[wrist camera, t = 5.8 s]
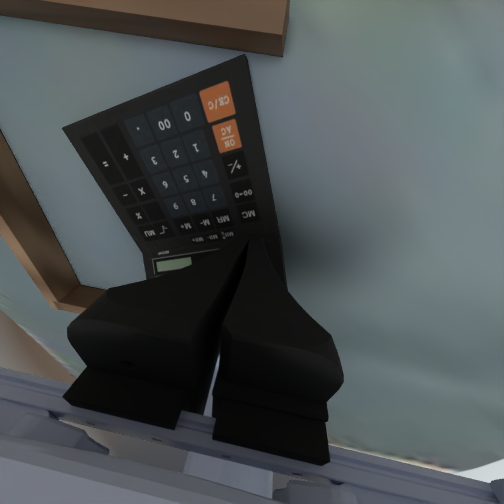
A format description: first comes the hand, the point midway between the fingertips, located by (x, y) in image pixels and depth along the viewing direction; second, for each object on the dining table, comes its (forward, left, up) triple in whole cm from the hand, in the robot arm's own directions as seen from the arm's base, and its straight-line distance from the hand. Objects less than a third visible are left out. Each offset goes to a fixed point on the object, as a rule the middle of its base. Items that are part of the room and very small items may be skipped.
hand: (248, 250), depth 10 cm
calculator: (+1, +3, -2) cm, 4 cm away
